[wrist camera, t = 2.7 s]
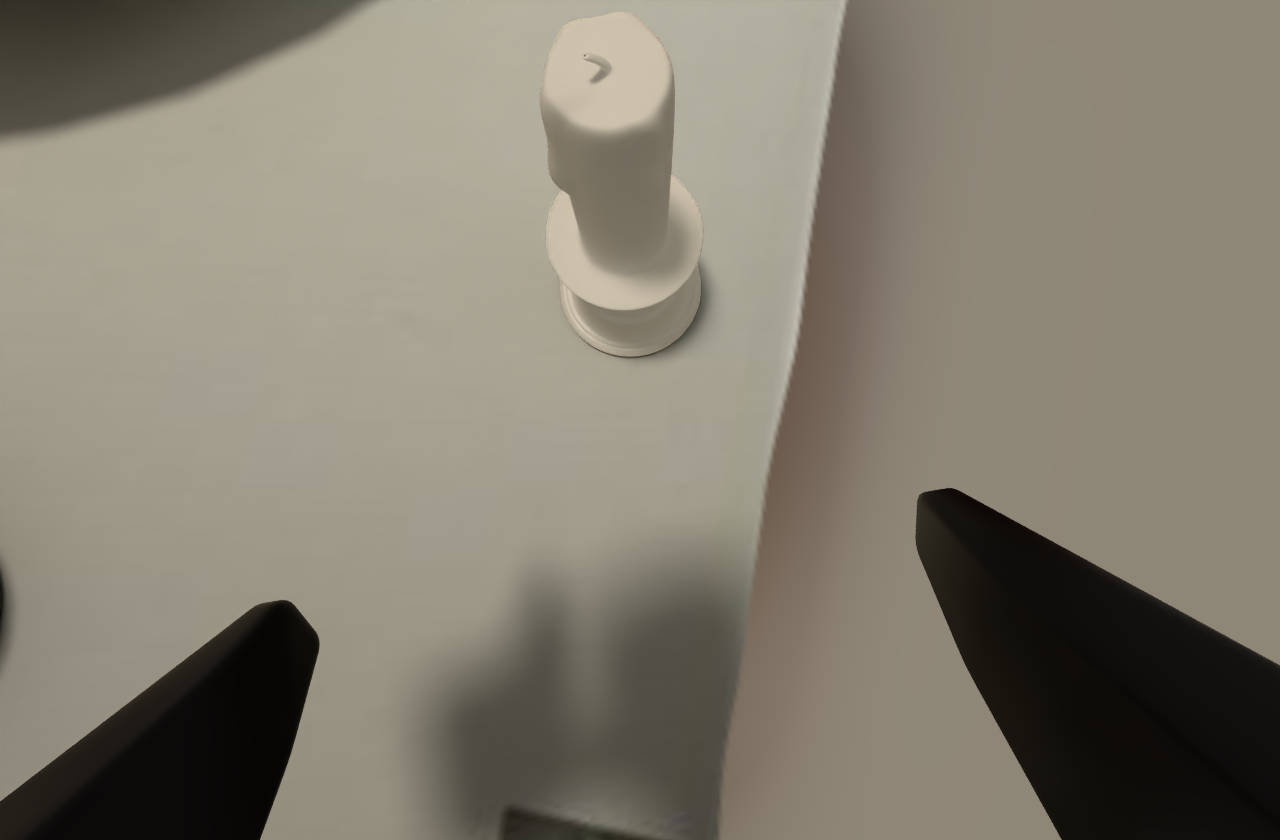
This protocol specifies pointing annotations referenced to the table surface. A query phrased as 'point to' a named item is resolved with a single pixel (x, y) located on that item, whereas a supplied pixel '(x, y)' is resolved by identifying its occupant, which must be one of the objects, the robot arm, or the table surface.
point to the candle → (618, 188)
